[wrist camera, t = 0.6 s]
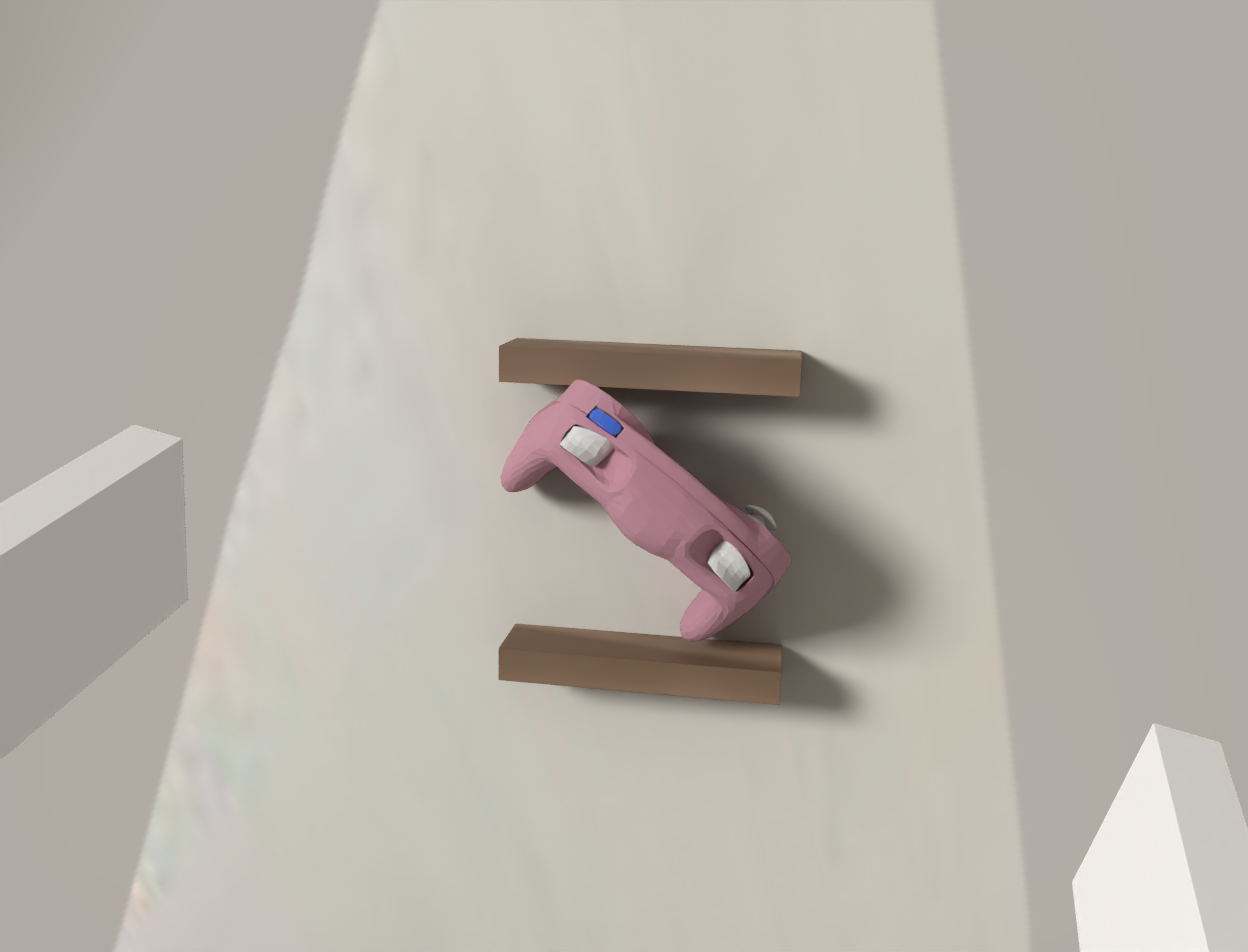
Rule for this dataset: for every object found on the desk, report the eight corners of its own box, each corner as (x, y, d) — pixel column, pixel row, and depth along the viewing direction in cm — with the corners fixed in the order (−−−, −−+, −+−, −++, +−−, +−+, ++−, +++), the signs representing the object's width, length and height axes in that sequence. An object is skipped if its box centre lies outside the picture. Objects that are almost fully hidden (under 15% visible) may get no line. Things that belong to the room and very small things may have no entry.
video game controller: (768, 555, 41) (834, 545, 34) (694, 651, 40) (746, 661, 33) (566, 385, 41) (591, 339, 34) (486, 478, 40) (495, 451, 33)
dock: (779, 675, 41) (779, 704, 38) (515, 653, 42) (498, 679, 39) (801, 350, 38) (802, 359, 35) (516, 338, 39) (499, 346, 37)
